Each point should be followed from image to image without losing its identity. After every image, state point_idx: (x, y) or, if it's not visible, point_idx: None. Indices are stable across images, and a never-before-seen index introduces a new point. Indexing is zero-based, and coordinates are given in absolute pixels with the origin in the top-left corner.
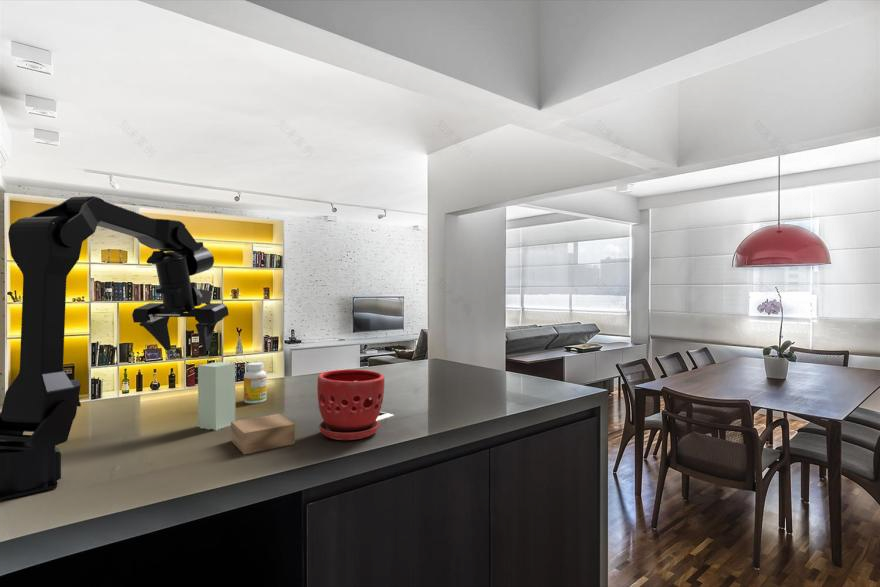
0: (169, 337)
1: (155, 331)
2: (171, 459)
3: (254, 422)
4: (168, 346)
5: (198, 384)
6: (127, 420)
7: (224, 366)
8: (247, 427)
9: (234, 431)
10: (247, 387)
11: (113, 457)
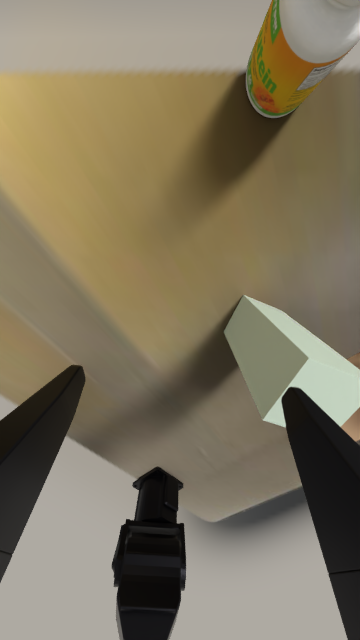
0: (41, 419)
1: (9, 556)
2: (246, 435)
3: None
4: (76, 389)
5: (246, 380)
6: (63, 290)
7: (345, 414)
8: (343, 429)
9: None
10: (283, 86)
11: (178, 431)
